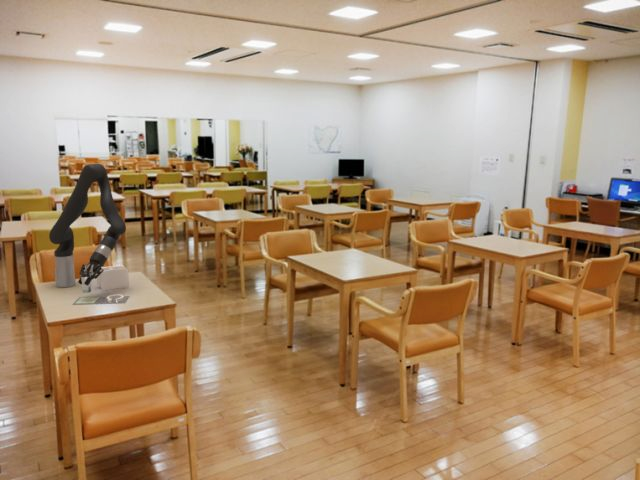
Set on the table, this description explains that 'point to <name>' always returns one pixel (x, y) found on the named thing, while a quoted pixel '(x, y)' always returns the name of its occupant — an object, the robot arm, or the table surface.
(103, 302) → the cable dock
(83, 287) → the clear glass bottle
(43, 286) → the table surface
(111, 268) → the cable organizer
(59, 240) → the robot arm
